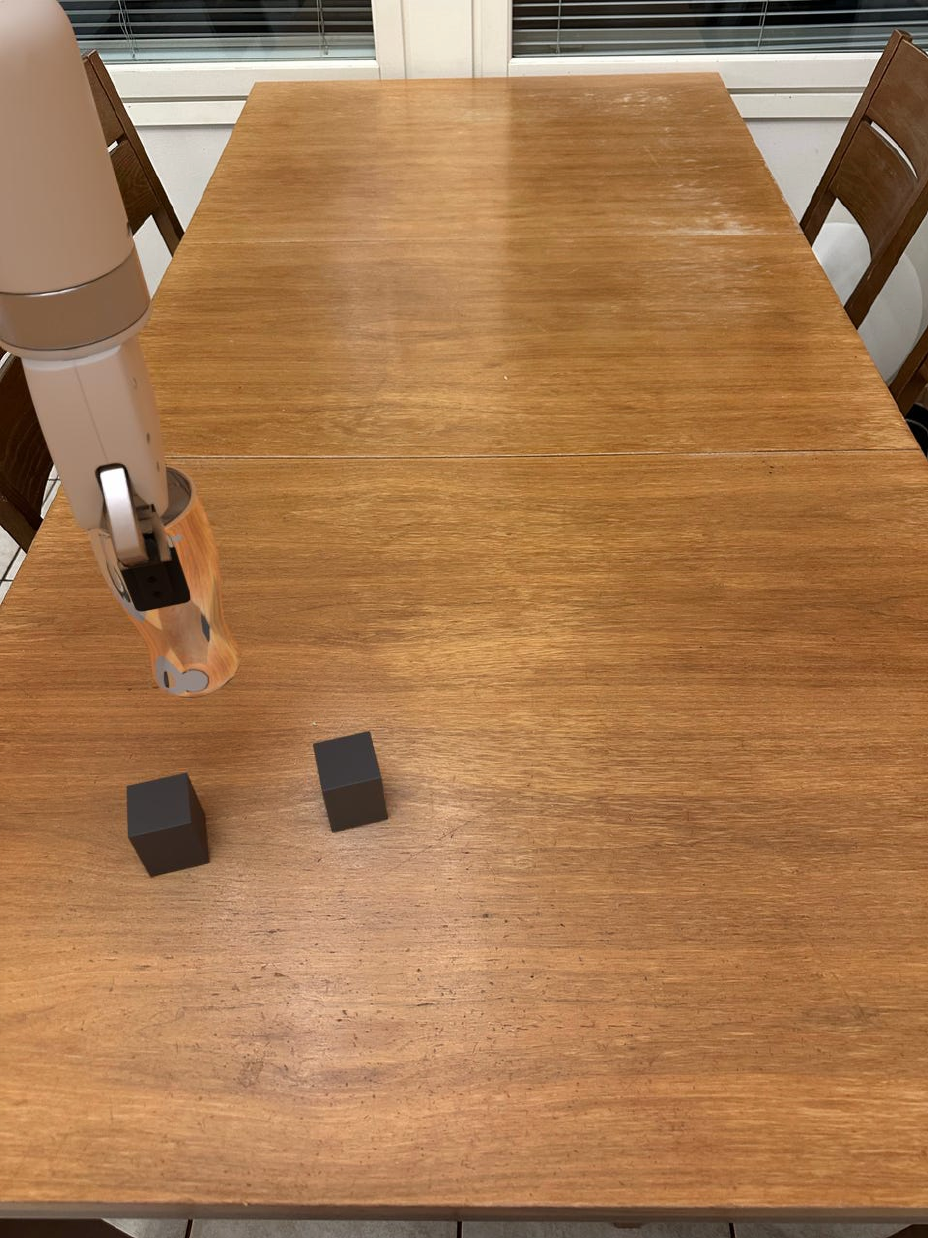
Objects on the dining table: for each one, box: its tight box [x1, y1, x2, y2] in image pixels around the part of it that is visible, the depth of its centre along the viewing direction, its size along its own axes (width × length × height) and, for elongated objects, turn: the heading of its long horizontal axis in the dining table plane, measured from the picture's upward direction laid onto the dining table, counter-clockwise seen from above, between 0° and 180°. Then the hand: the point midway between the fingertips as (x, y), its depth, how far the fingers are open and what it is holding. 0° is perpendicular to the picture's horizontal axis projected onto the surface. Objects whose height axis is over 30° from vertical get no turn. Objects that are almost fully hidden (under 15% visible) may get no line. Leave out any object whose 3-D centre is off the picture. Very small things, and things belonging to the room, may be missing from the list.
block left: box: [125, 772, 210, 878], centre depth 71 cm, size 4×4×6 cm
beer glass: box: [87, 464, 242, 699], centre depth 60 cm, size 7×7×15 cm
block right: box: [312, 730, 389, 833], centre depth 74 cm, size 4×4×6 cm
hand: (160, 558), depth 58 cm, fingers closed on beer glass, 7 cm apart
